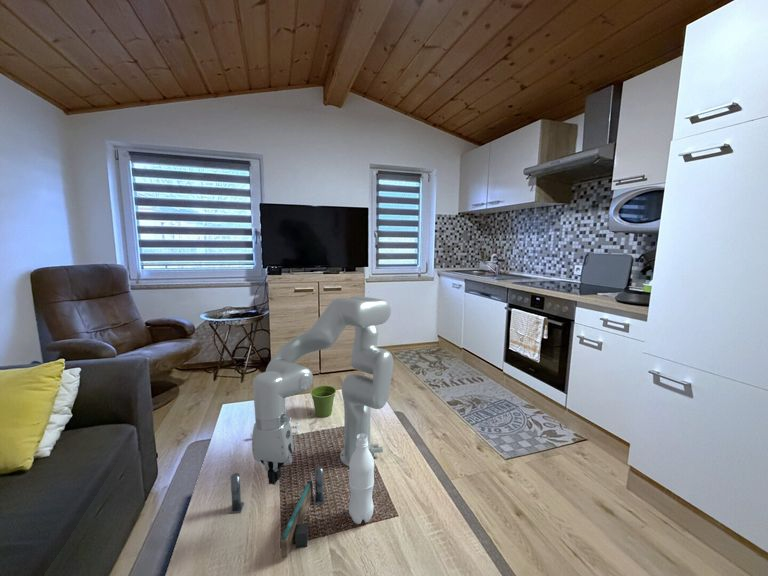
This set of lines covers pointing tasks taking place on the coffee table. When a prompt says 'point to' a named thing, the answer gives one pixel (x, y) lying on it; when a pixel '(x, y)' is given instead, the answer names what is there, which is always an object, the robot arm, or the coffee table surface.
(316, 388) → the plant pot
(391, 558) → the coffee table surface
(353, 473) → the water bottle
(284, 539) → the gate
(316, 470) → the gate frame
